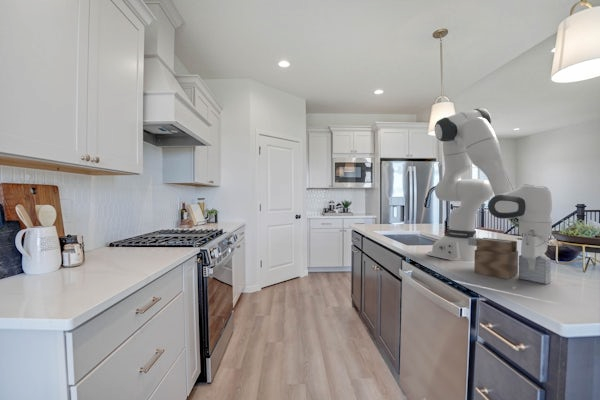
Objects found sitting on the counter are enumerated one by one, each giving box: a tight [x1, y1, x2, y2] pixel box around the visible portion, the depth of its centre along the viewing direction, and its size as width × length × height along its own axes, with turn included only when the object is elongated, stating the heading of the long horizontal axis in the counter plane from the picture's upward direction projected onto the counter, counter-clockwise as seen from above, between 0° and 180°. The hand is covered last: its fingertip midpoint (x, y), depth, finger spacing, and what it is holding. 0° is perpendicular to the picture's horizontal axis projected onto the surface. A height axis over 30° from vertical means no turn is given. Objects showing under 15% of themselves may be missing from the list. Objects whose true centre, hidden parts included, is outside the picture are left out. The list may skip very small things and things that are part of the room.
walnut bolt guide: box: [474, 237, 519, 281], centre depth 105 cm, size 11×12×13 cm
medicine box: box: [518, 254, 552, 285], centre depth 96 cm, size 8×4×9 cm, turn 32°
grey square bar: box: [468, 237, 512, 246], centre depth 107 cm, size 14×3×3 cm, turn 38°
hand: (534, 267), depth 96 cm, fingers closed on medicine box, 5 cm apart
